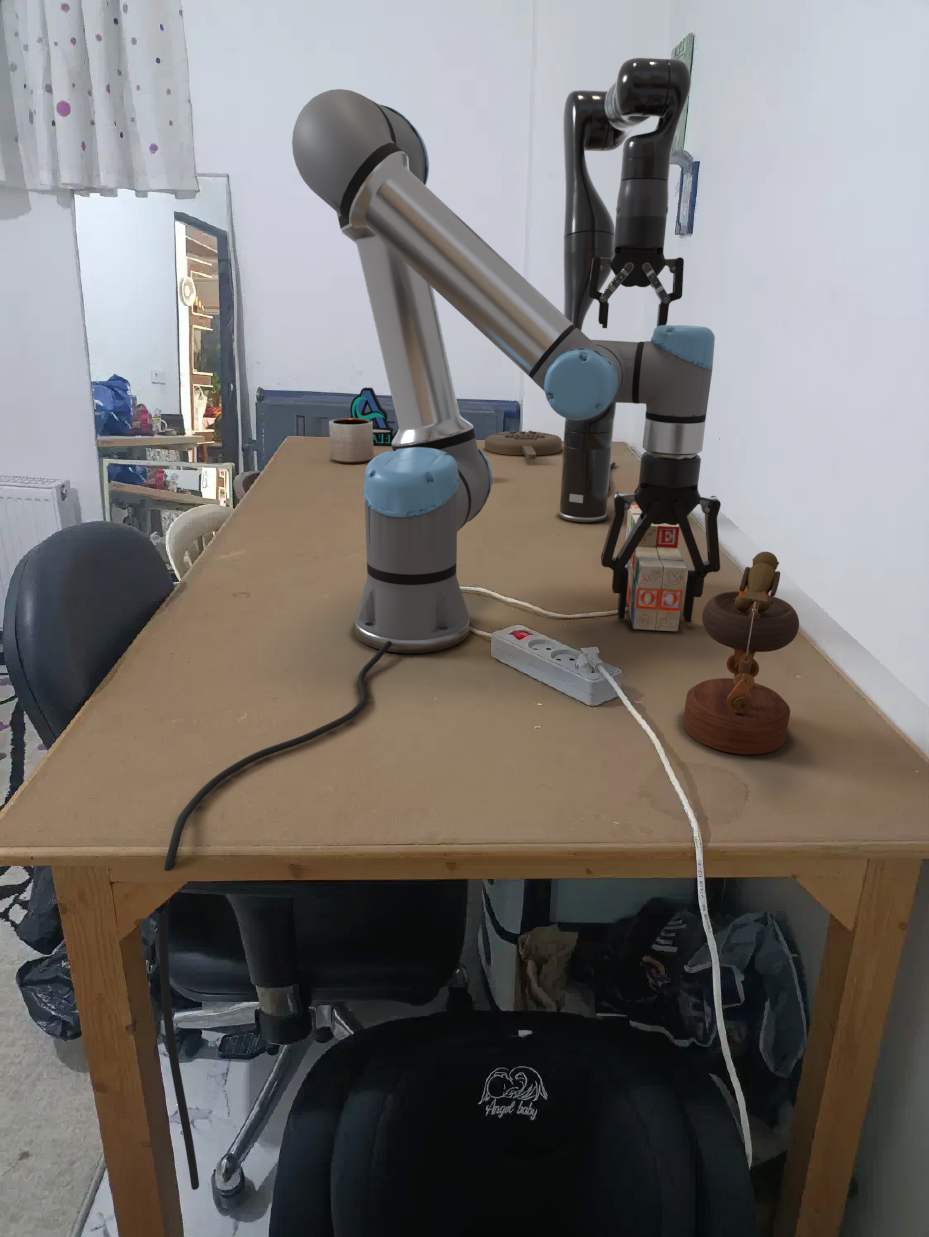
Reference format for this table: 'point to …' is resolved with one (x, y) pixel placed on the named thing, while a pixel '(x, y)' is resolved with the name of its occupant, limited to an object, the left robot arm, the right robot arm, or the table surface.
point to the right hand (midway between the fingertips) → (631, 328)
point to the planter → (351, 440)
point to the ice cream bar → (523, 443)
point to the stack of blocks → (655, 576)
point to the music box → (744, 666)
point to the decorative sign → (373, 416)
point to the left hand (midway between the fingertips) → (653, 616)
